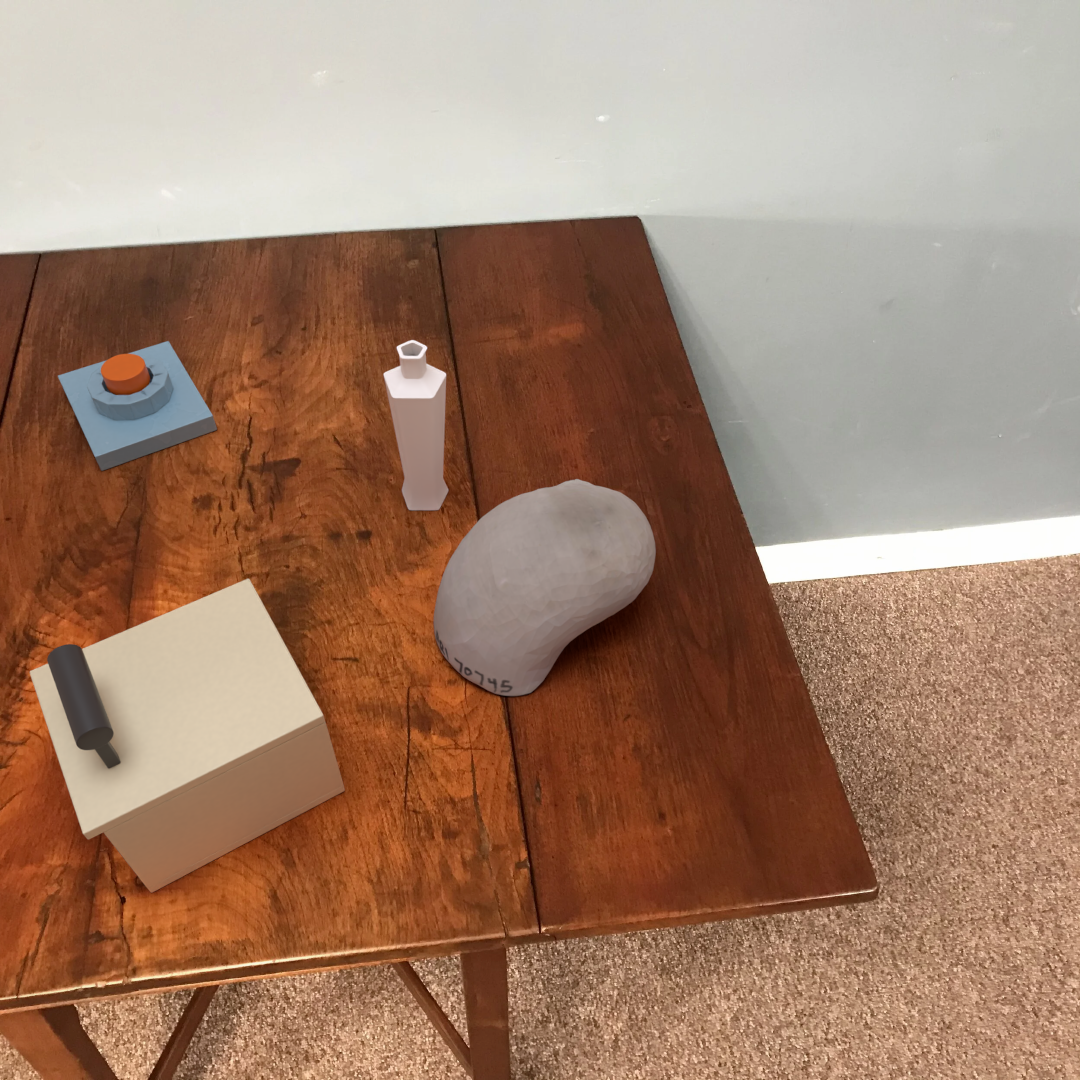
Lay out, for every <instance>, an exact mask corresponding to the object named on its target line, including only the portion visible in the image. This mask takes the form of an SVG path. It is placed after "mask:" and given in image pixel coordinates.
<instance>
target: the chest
mask: <svg viewBox="0 0 1080 1080" xmlns="http://www.w3.org/2000/svg"><path fill="white" fill-rule="evenodd" d="M345 791H346V789H345V785H344V782H343V778H342V775H341V771H340V767H339V764H338V760H337V756H336V754H335V750H334V747H333V742H332V740H331V735H330V733H329V729H328V725H327V722H326V721H325V722H324V723H322V724H320V725H318V726H316V727H314V728H312V729H310V730H308V731H306V732H304V733H302V734H300V735H298V736H296V737H294V738H292V739H290V740H288V741H286V742H284V743H282V744H280V745H278V746H276V747H274V748H272V749H270V750H268V751H266V752H264V753H262V754H260V755H258V756H256V757H254V758H252V759H250V760H248V761H246V762H244V763H242V764H240V765H238V766H236V767H233V768H231V769H229V770H227V771H225V772H223V773H221V774H219V775H217V776H215V777H213V778H211V779H209V780H207V781H205V782H203V783H201V784H199V785H197V786H195V787H193V788H191V789H189V790H187V791H185V792H183V793H181V794H179V795H177V796H175V797H173V798H171V799H169V800H167V801H165V802H163V803H161V804H159V805H157V806H155V807H153V808H151V809H149V810H147V811H145V812H143V813H141V814H139V815H137V816H135V817H133V818H131V819H129V820H127V821H125V822H123V823H121V824H119V825H117V826H115V827H113V828H111V829H109V830H107V831H105V832H103V833H102V834H104V836H105V837H106V838H107V839H108V840H109V842H110V843H111V845H112V846H113V847H114V848H115V849H116V850H117V852H118V853H119V854H120V856H121V857H122V859H124V861H125V862H126V863H127V865H128V866H129V867H130V869H131V870H132V871H133V872H134V874H135V875H136V876H137V877H138V879H139V880H140V881H141V882H142V884H143V885H144V886H145V888H146V889H147V890H148V891H149V893H152V894H153V893H155V892H156V891H158V890H159V889H162V888H164V887H165V886H168V885H170V884H171V883H173V882H175V881H177V880H179V879H181V878H182V877H185V876H186V875H188V874H190V873H192V872H194V871H196V870H198V869H200V868H202V867H203V866H205V865H208V864H209V863H211V862H213V861H215V860H217V859H219V858H221V857H222V856H224V855H226V854H229V853H230V852H232V851H234V850H236V849H238V848H239V847H241V846H243V845H244V844H247V843H249V842H250V841H253V840H254V839H256V838H258V837H260V836H262V835H264V834H266V833H268V832H270V831H272V830H273V829H275V828H277V827H279V826H281V825H284V824H285V823H286V822H289V821H290V820H293V819H294V818H296V817H298V816H300V815H302V814H304V813H305V812H308V811H309V810H311V809H313V808H315V807H317V806H319V805H321V804H323V803H325V802H327V801H329V800H330V799H332V798H334V797H336V796H338V795H339V794H341V793H343V792H345Z"/></svg>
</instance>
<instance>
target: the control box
mask: <svg viewBox="0 0 1080 1080" xmlns="http://www.w3.org/2000/svg"><path fill="white" fill-rule="evenodd" d="M127 354H135V355H138V356H140V357H141V358H142V359H143V360H144V361H145V364H146V367H147V370H148V372H149V375H150V383H149V385H148V386H147V387H145V388H144V389H143V390H142V391H140V392H137V393H134V394H131V395H115V394H112V393H111V392H110V391H109V390H108V389H107V386H106V384H105V381H104V379H103V377H102V374H101V367H102V365H103V364H104V363H105V362H106V361H107V360H108V359H106V360H103V361H100V362H96V363H93V364H91V365H87V366H84V367H81V368H76V369H75V370H71V371H68V372H65V373H62V374H61V373H60V374H59V375H57V378H58V380H59V382H60V385H61V387H62V389H63V391H64V393H65V396H66V397H67V399H68V402H69V404H70V406H71V408H72V410H73V413H74V415H75V418H76V419H77V421H78V424H79V426H80V428H81V430H82V432H83V434H84V437H85V439H86V441H87V443H88V445H89V447H90V450H91V452H92V454H93V456H94V457H95V458H94V459H95V461H96V463H97V465H98V467H99V469H100V471H101V472H103V471H105V470H109V469H111V468H114V467H117V466H120V465H122V464H125V463H128V462H131V461H133V460H137V459H139V458H143V457H145V456H148V455H150V454H154V453H156V452H159V451H161V450H165V449H167V448H171V447H173V446H176V445H178V444H181V443H184V442H187V441H190V440H193V439H195V438H199V437H201V436H204V435H207V434H210V433H212V432H215V431H217V430H218V428H217V424H216V421H215V418H214V415H213V413H212V412H211V410H210V408H209V407H208V405H207V403H206V402H205V399H203V396H202V395H201V393H200V392H199V390H198V388H197V386H196V385H195V383H194V381H193V380H192V378H191V377H190V375H189V373H188V371H187V369H186V368H185V366H184V364H183V362H182V361H181V359H180V357H179V356H178V353H176V351H175V350H174V347H173V346H172V344H171V343H170V341H169V340H166V341H164V342H163V341H162V342H160V343H157V344H154V345H151V346H148V347H145V348H142V349H138V350H135V351H132V352H128V353H127Z"/></svg>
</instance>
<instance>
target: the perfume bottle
mask: <svg viewBox="0 0 1080 1080" xmlns="http://www.w3.org/2000/svg"><path fill="white" fill-rule="evenodd" d="M427 350H428V346H427V345H425V344H423V343H422V342H419V341H417V340H415V339H411V340H408V341H405V342H403V343H400V344H399V345H397V346H396V351H397V353H398V355H399V364H400V365H398V366H396V367H394V368H392V369H389V370H387V371H385V372H384V373H383V379H384V384H385V390H386V393H387V398H388V399H387V400H388V404H389V409H390V413H391V419H392V424H393V428H394V433H395V437H396V443H397V448H398V453H399V457H400V463H401V468H402V472H403V478H404V480H403V484H402V487H401V493H402V496H403V499H404V502H405V504H406V508H407V509H408V510H409V511H439V510H440V509H441V506H442V505H443V503H444V501H445V499H446V497H447V495H448V493H449V488H448V485H447V484H446V481H445V479H444V462H445V460H444V459H445V458H444V457H445V429H446V428H445V427H446V396H447V394H446V393H447V373H446V372H445V371H443V370H441V369H438V368H437V367H435V366H433V365H431V364H428V363H427V356H426V355H427V354H426V352H427Z"/></svg>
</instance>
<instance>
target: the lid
mask: <svg viewBox="0 0 1080 1080" xmlns="http://www.w3.org/2000/svg"><path fill="white" fill-rule="evenodd" d="M46 662H47V663H45V664H43V665H40V666H39V667H36V668H34V669H32V670H29V675H30V678H31V681H32V685H33V687H34V691H35V693H36V697H37V700H38V703H39V706H40V708H41V712H42V715H43V718H44V721H45V724H46V727H47V729H48V733H49V736H50V738H51V742H52V745H53V749H54V751H55V754H56V757H57V760H58V764H59V766H60V770H61V772H62V775H63V778H64V781H65V784H66V788H67V791H68V794H69V796H70V799H71V803H72V806H73V808H74V812H75V814H76V818H77V821H78V823H79V827H80V830H81V833H82V835H83V836H84V837H85V838H86V839H87V840H91V839H93V838H95V837H97V836H99V835H101V834H104V833H103V832H105V831H107V830H109V829H111V828H113V827H115V826H117V825H119V824H121V823H123V822H125V821H127V820H129V819H131V818H133V817H135V816H137V815H139V814H141V813H143V812H145V811H147V810H149V809H151V808H153V807H155V806H157V805H159V804H161V803H163V802H165V801H167V800H169V799H171V798H173V797H175V796H177V795H179V794H181V793H183V792H185V791H187V790H189V789H191V788H193V787H195V786H197V785H199V784H201V783H203V782H205V781H207V780H209V779H211V778H213V777H215V776H217V775H219V774H221V773H223V772H225V771H227V770H229V769H231V768H233V767H236V766H238V765H240V764H242V763H244V762H246V761H248V760H250V759H252V758H254V757H256V756H258V755H260V754H262V753H264V752H266V751H268V750H270V749H272V748H274V747H276V746H278V745H280V744H282V743H284V742H286V741H288V740H290V739H292V738H294V737H296V736H298V735H300V734H302V733H304V732H306V731H308V730H310V729H312V728H314V727H316V726H318V725H320V724H322V723H324V722H326V718H325V716H324V714H323V713H324V712H323V711H322V709H321V707H320V705H319V704H318V702H317V700H316V698H315V696H314V695H313V693H312V691H311V689H310V687H309V686H308V684H307V682H306V680H305V678H304V676H303V675H302V673H301V670H300V669H299V667H298V665H297V664H296V661H295V660H294V658H293V656H292V654H291V653H290V651H289V649H288V647H287V645H286V643H285V641H284V639H283V638H282V636H281V634H280V632H279V630H278V629H277V627H276V625H275V623H274V621H273V619H272V617H271V616H270V614H269V612H268V610H267V609H266V606H265V605H264V603H263V601H262V599H261V597H260V596H259V593H258V592H257V590H256V588H255V586H254V584H253V583H252V580H251V579H250V578H246V579H243V580H241V581H239V582H236V583H234V584H232V585H230V586H227V587H225V588H222V589H220V590H218V591H215V592H213V593H211V594H208V595H206V596H203V597H201V598H199V599H197V600H194V601H191V602H189V603H186V604H184V605H182V606H180V607H177V608H175V609H173V610H171V611H168V612H166V613H163V614H161V615H159V616H155V617H154V618H152V619H151V618H150V619H149V620H147V621H144V622H141V623H140V624H136V625H135V626H133V627H130V628H128V629H126V630H123V631H121V632H119V633H115V634H114V635H111V636H109V637H107V638H105V639H102V640H100V641H97V642H95V643H93V644H90V645H88V646H86V647H83V648H82V647H81V646H80V645H78V644H75V643H68V644H67V643H66V644H63V645H60V646H57V647H55V648H54V649H52V650H51V651H50V652H49V654H48V655H47V659H46Z"/></svg>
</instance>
